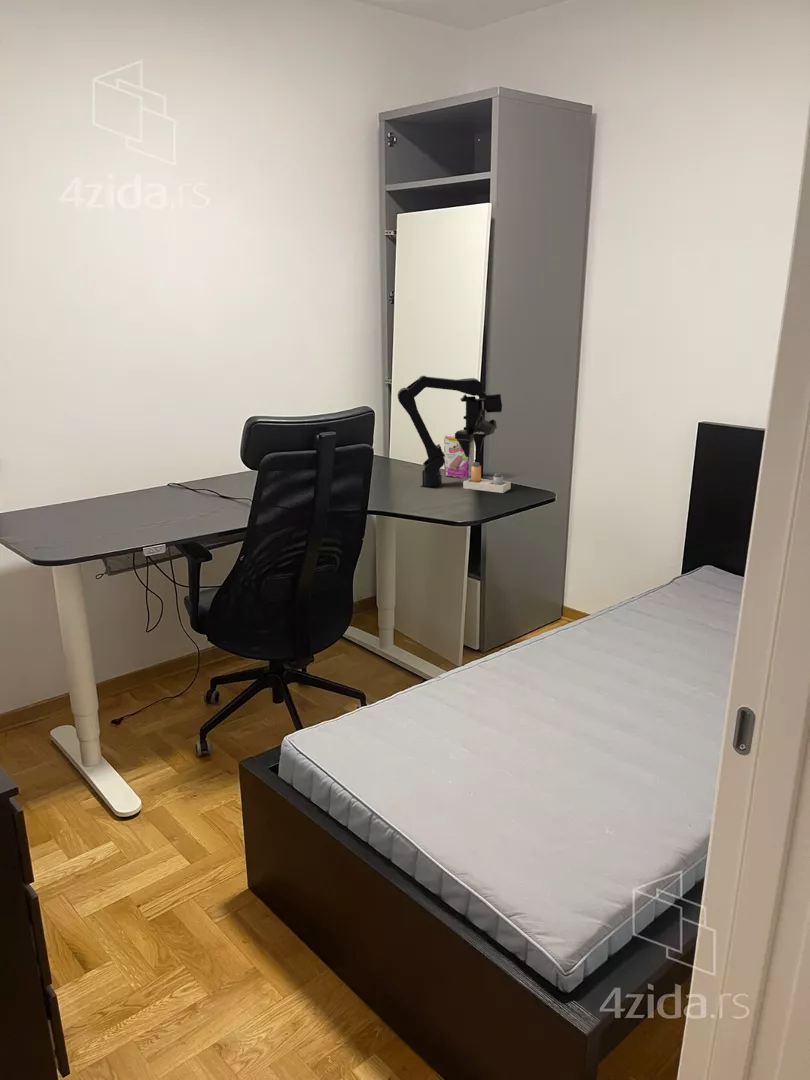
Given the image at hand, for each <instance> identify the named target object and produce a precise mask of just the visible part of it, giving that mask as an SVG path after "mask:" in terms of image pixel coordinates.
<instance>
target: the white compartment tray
mask: <svg viewBox="0 0 810 1080" xmlns="http://www.w3.org/2000/svg"><path fill="white" fill-rule="evenodd" d="M462 483H463V484H462V485H463V487H462V489H465V490H466V489H467V490H472V491H473V490H475V491H482V492H492V493H499V494H504V493H506V492H508V491H509V490H511V487H512V486H511V484H512V482H511V481H505V480H503V485H494V484H493V479H486V478H481V482H479V483H477V482H471V477H469V478H468V479H465V480H464V481H463V482H462Z"/></svg>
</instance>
